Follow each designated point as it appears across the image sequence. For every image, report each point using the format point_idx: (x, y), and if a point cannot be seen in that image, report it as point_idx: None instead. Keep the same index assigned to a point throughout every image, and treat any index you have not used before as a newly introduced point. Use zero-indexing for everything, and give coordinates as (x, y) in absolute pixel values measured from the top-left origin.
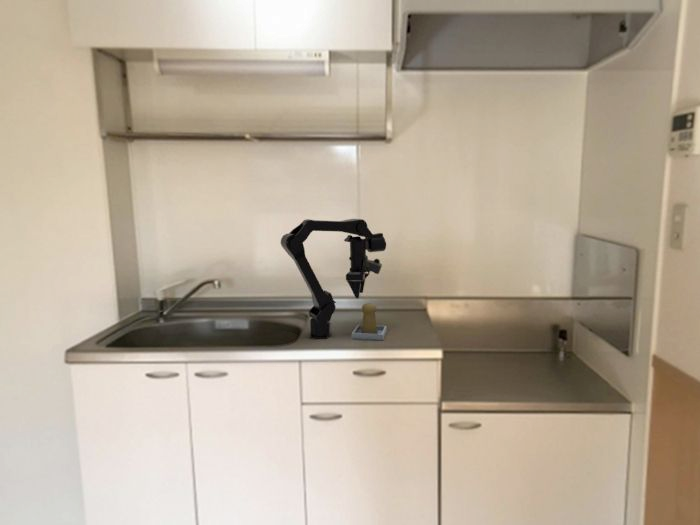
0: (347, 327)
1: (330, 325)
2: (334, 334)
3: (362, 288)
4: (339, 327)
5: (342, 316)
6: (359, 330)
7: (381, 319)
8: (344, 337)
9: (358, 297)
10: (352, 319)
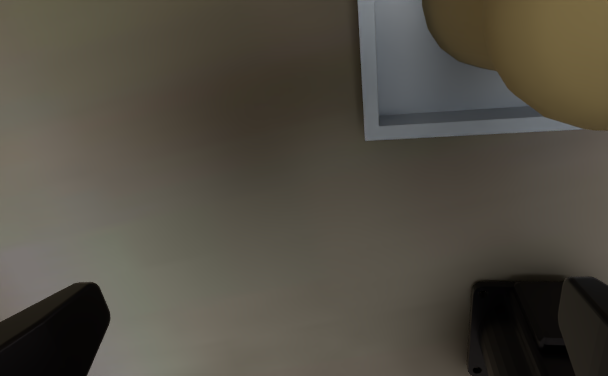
0: (301, 213)
1: (555, 325)
2: (487, 257)
3: (38, 341)
4: (314, 260)
5: None
6: (405, 105)
7: (4, 14)
8: (562, 178)
9: (604, 286)
10: (107, 223)
